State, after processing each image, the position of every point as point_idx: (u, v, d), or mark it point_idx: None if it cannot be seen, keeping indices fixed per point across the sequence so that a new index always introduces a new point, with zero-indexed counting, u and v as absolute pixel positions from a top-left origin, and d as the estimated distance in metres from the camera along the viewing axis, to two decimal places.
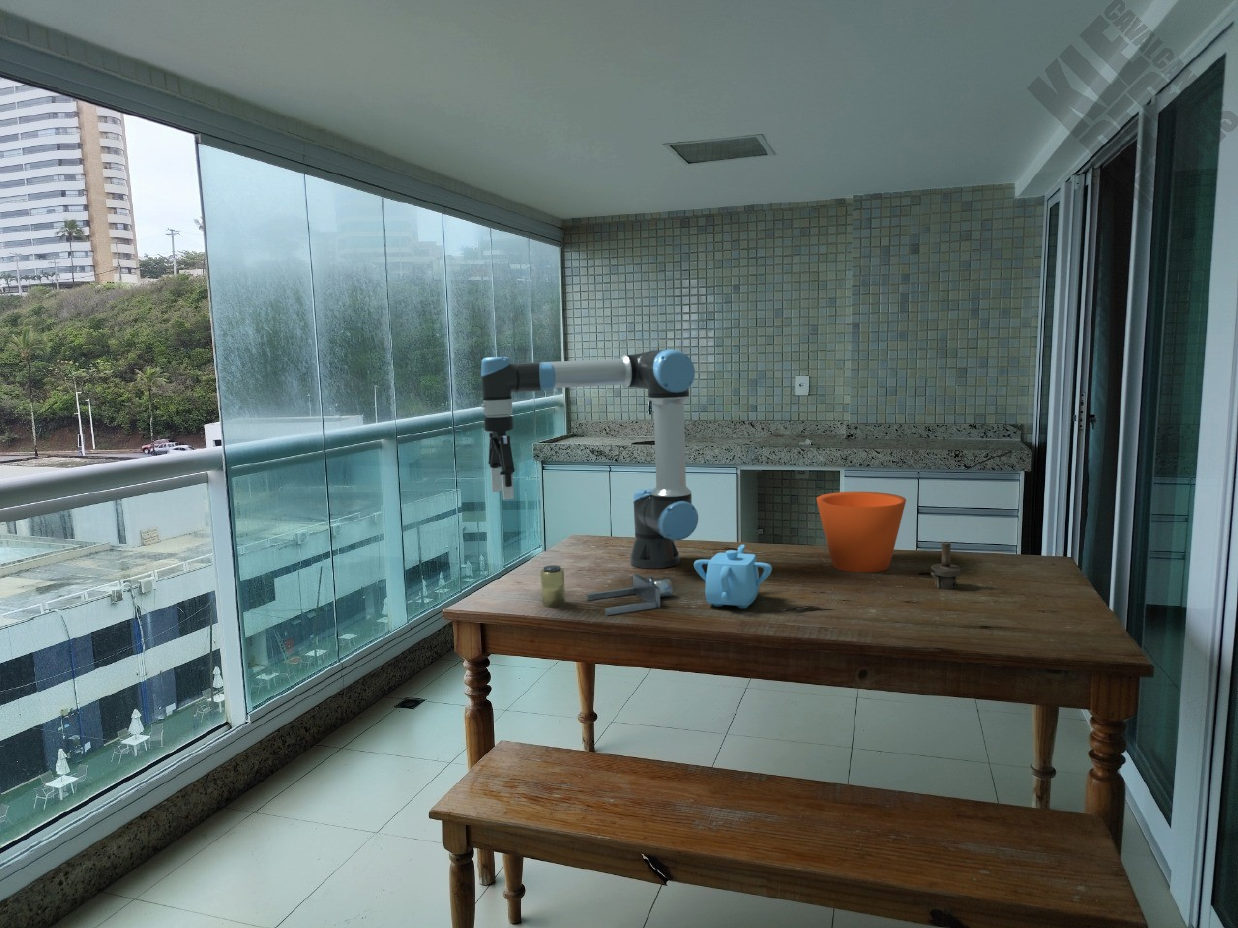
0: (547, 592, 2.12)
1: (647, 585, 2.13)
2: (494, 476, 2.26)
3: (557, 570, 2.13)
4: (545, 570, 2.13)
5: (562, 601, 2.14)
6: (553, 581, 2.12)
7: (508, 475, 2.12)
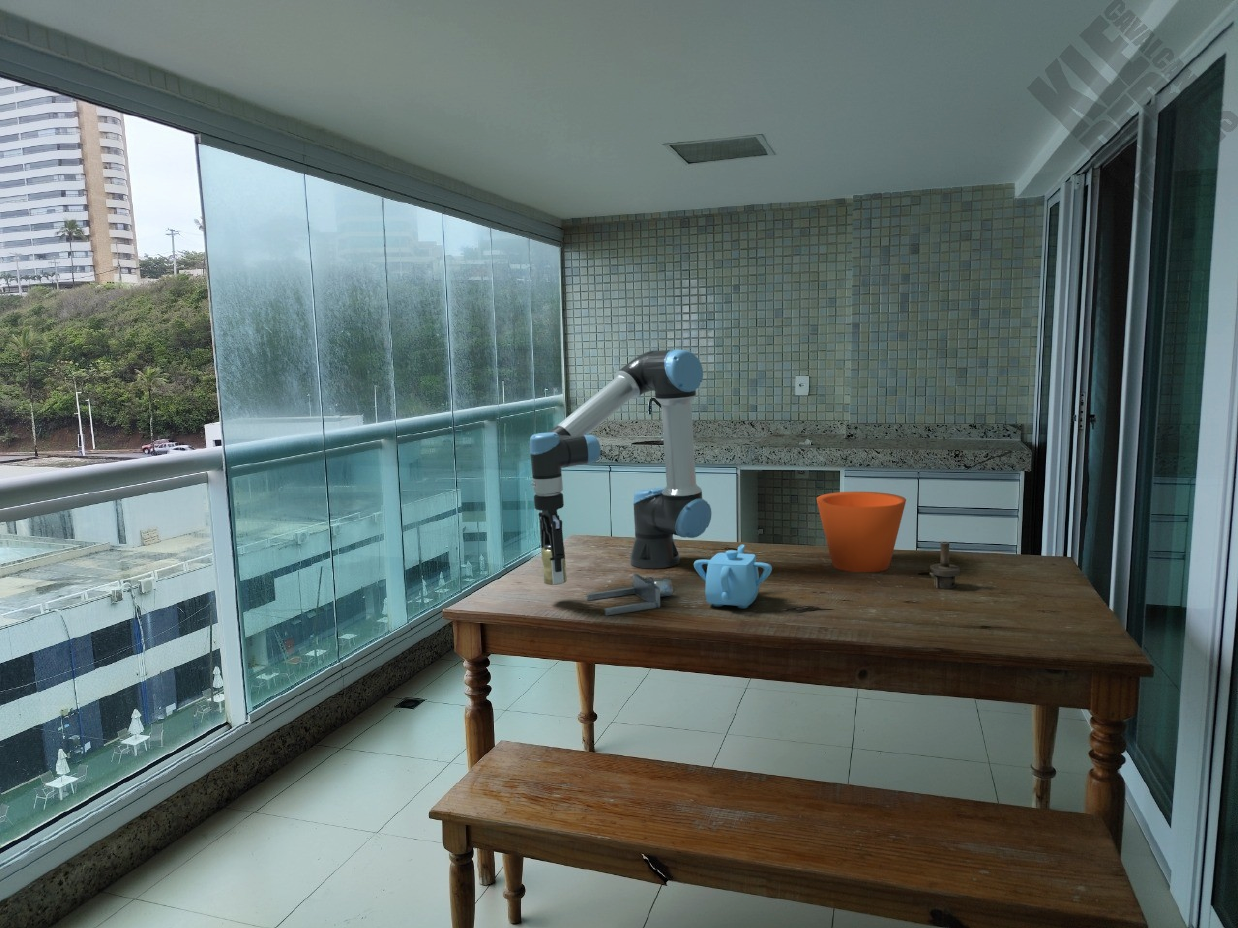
0: (549, 570, 2.12)
1: (647, 585, 2.13)
2: None
3: None
4: (546, 548, 2.12)
5: (564, 578, 2.13)
6: None
7: (558, 560, 2.10)
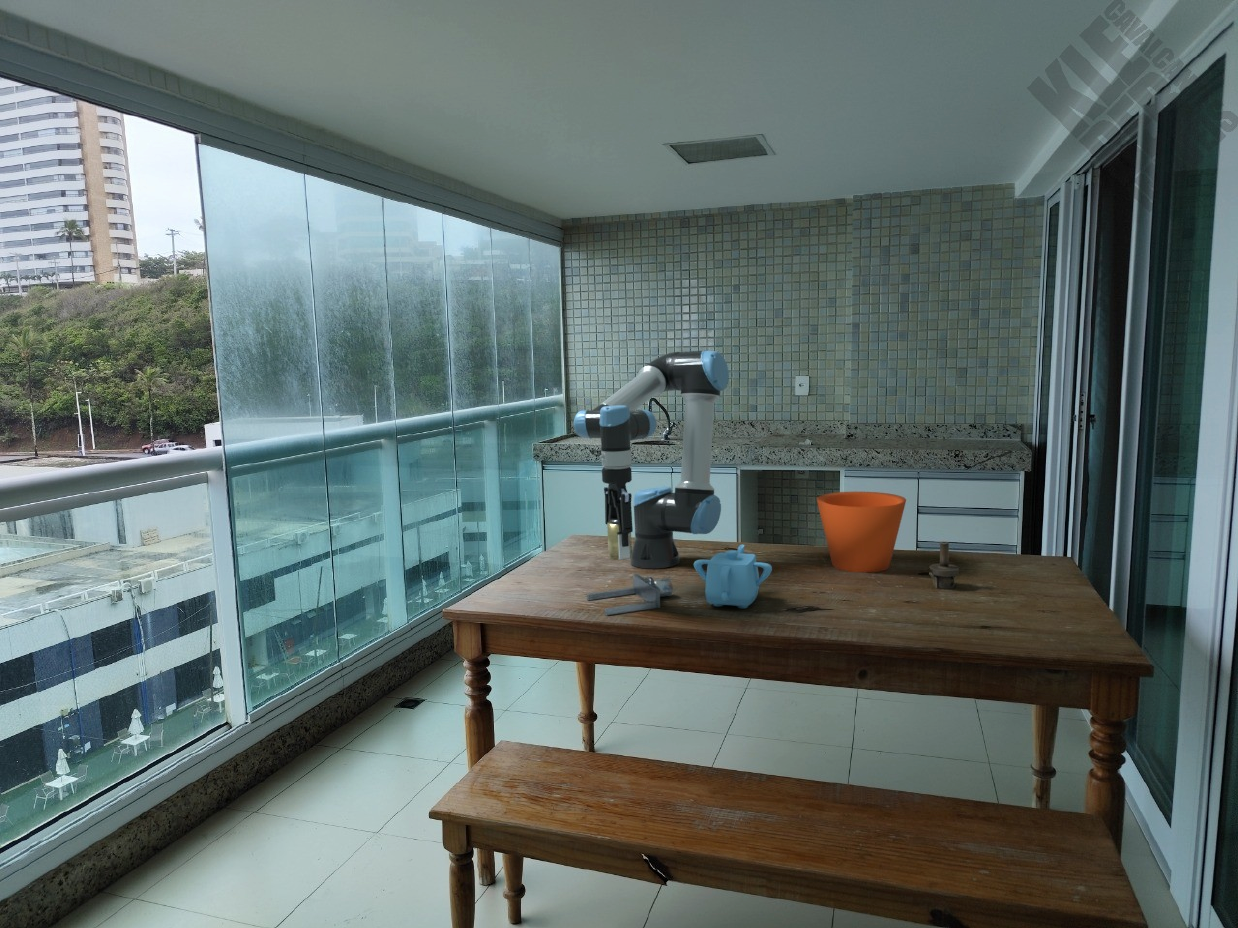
0: (615, 544, 2.09)
1: (647, 585, 2.13)
2: None
3: None
4: (612, 522, 2.09)
5: None
6: None
7: (625, 535, 2.07)
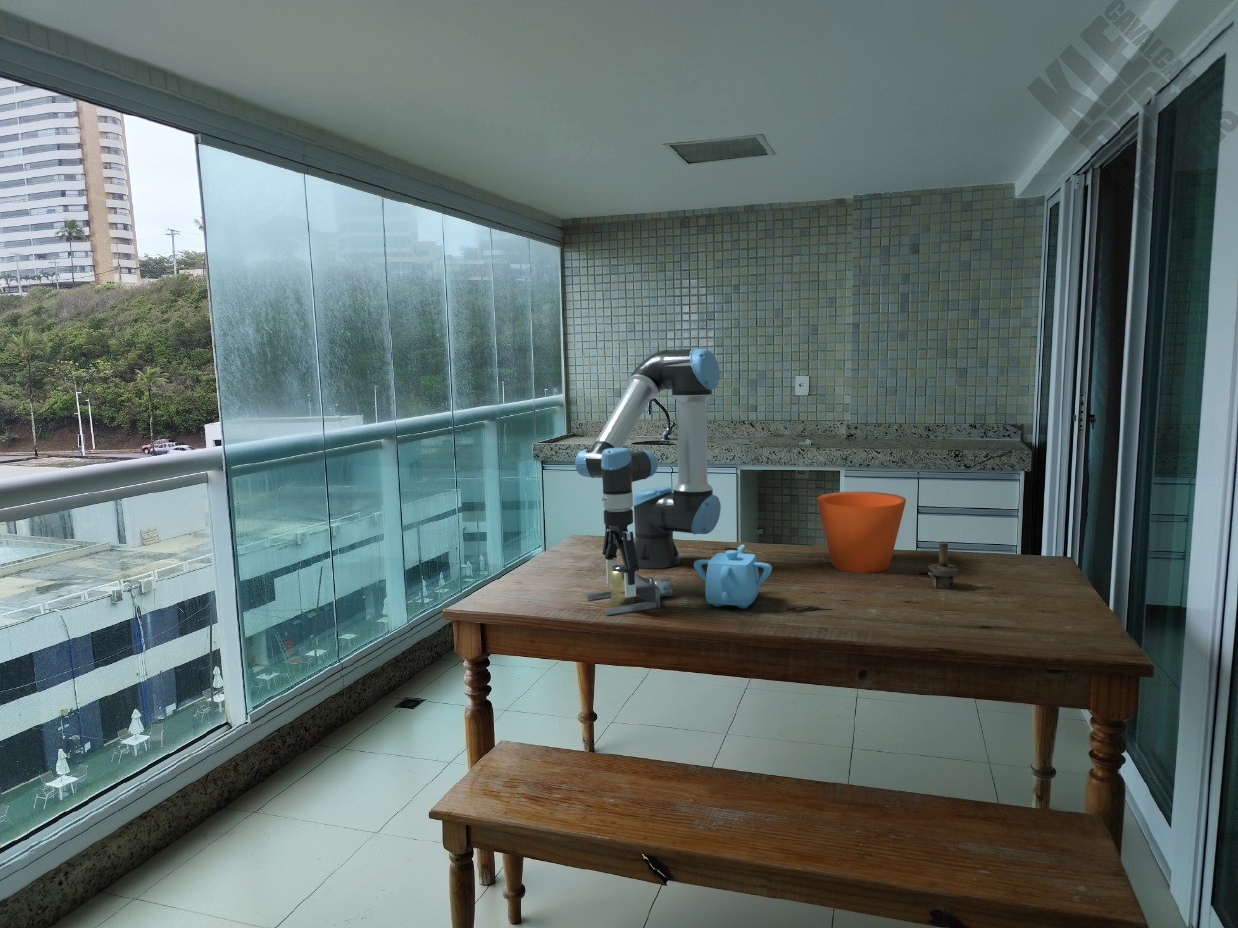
0: (617, 592, 2.11)
1: (647, 585, 2.13)
2: (610, 568, 2.18)
3: None
4: (614, 569, 2.11)
5: (631, 600, 2.12)
6: (623, 581, 2.10)
7: (632, 573, 2.05)
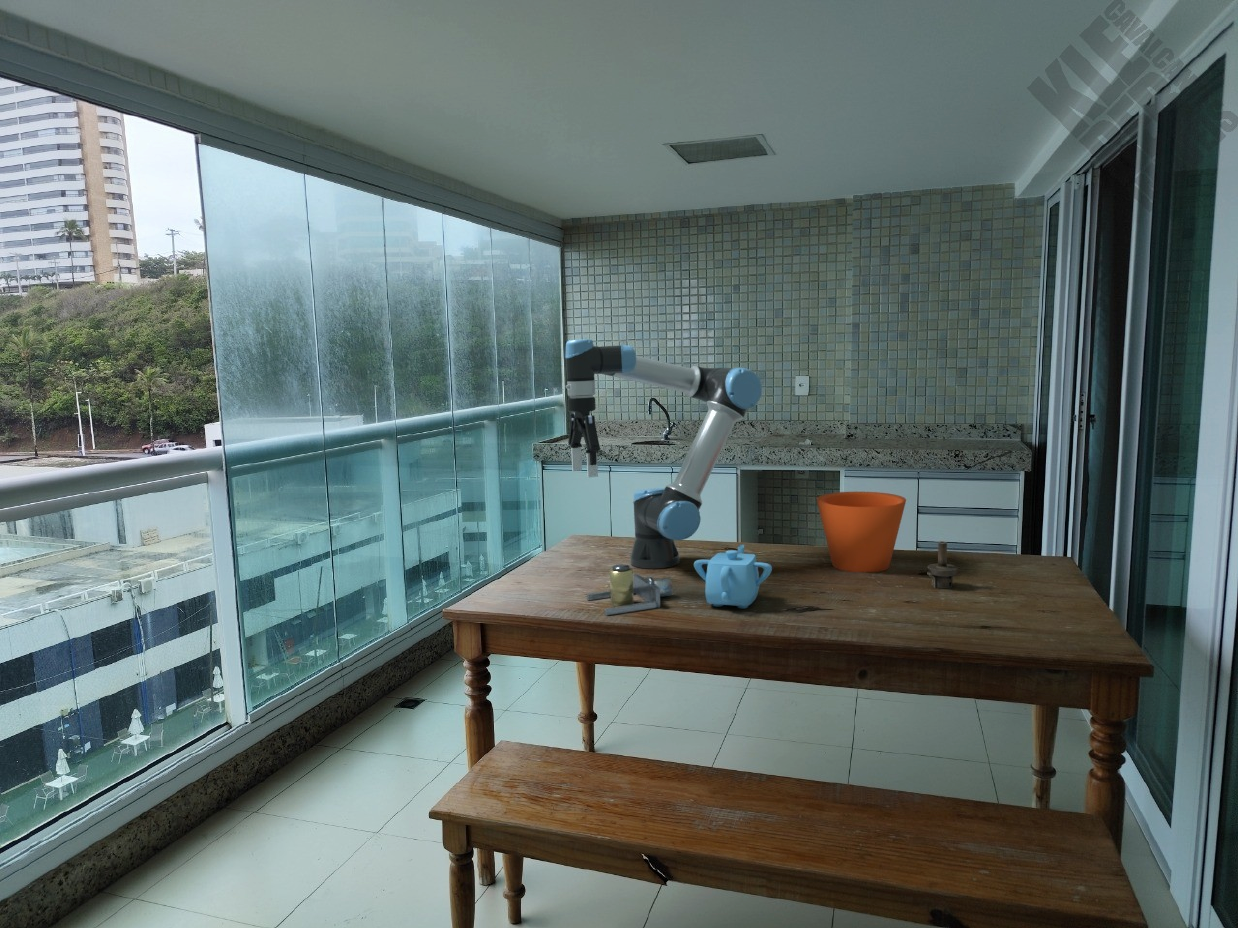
0: (617, 592, 2.11)
1: (647, 585, 2.13)
2: (575, 455, 2.33)
3: (626, 569, 2.11)
4: (614, 569, 2.11)
5: (631, 600, 2.12)
6: (623, 581, 2.10)
7: (593, 453, 2.19)
